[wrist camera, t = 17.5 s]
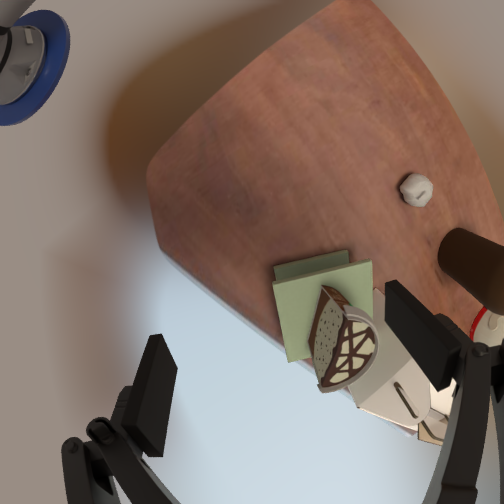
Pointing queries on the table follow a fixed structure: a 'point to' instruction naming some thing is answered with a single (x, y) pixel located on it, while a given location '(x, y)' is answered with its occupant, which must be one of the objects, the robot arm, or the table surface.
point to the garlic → (417, 190)
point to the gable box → (401, 386)
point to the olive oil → (475, 266)
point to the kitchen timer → (488, 328)
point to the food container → (340, 341)
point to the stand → (317, 293)
